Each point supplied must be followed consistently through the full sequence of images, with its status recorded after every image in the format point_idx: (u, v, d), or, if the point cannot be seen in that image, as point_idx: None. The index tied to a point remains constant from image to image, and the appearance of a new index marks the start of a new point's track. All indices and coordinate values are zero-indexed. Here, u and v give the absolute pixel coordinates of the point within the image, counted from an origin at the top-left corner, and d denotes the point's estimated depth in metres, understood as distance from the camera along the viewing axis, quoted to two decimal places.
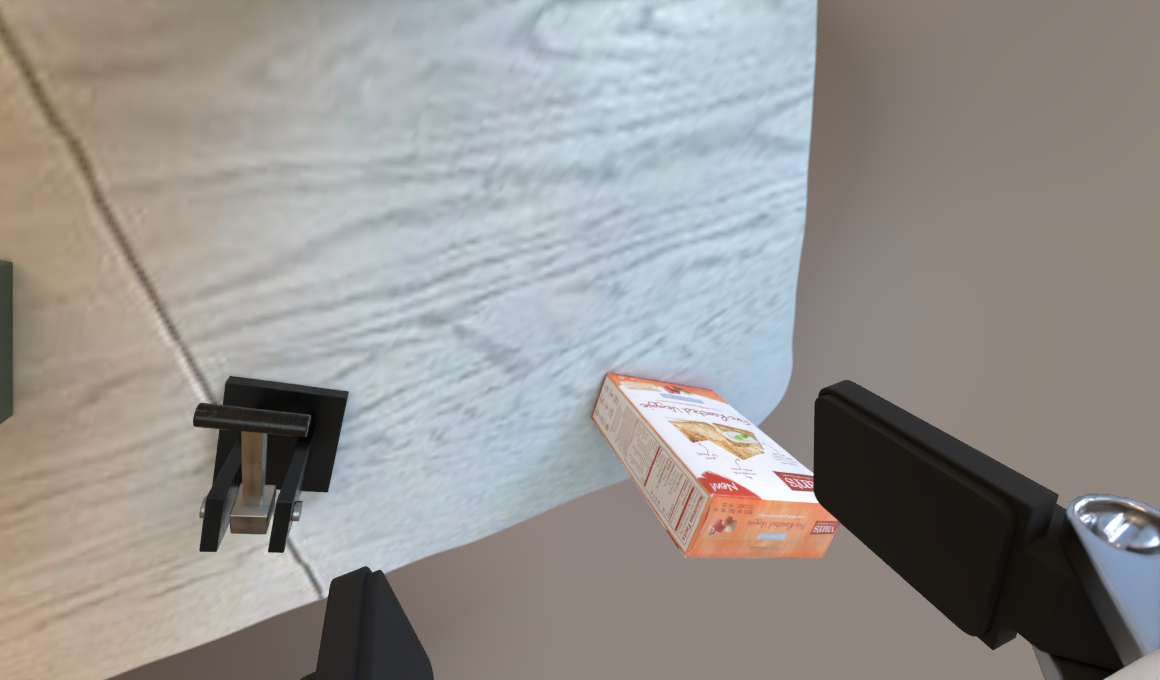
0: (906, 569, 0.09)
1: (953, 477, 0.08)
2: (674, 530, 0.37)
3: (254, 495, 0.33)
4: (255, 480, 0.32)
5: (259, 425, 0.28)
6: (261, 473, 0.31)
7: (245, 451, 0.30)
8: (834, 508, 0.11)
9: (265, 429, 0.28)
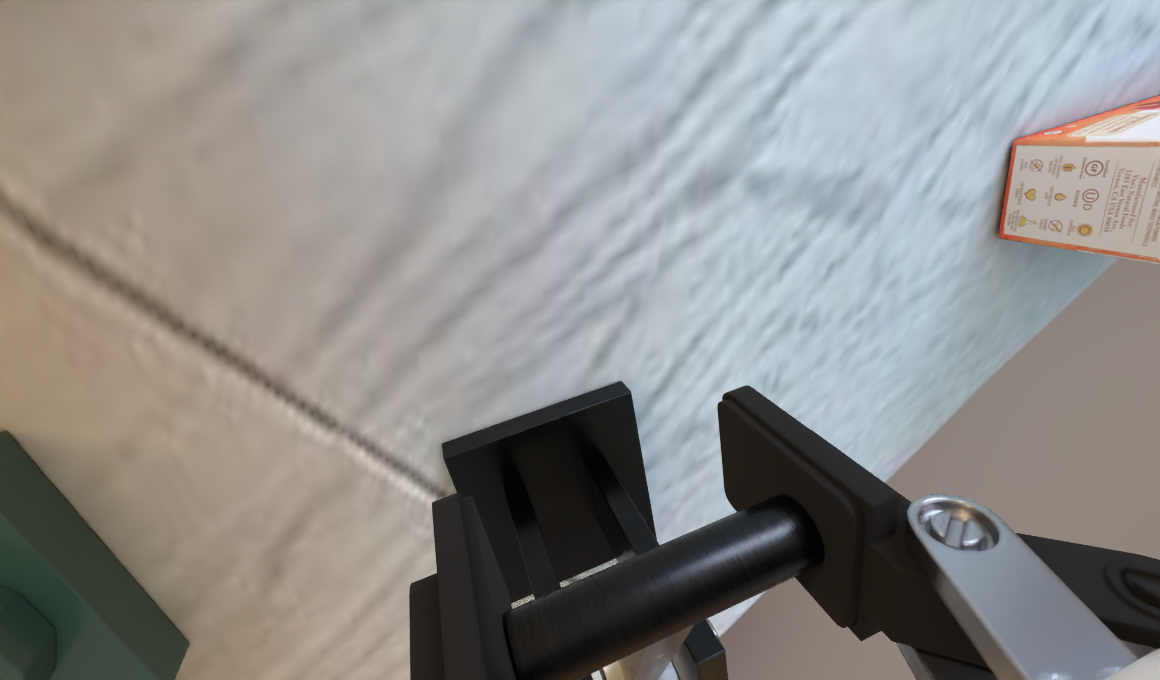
0: None
1: (816, 478, 0.08)
2: None
3: (653, 676, 0.14)
4: (660, 665, 0.13)
5: (701, 605, 0.08)
6: (674, 653, 0.12)
7: (651, 652, 0.10)
8: (740, 507, 0.11)
9: (720, 606, 0.08)
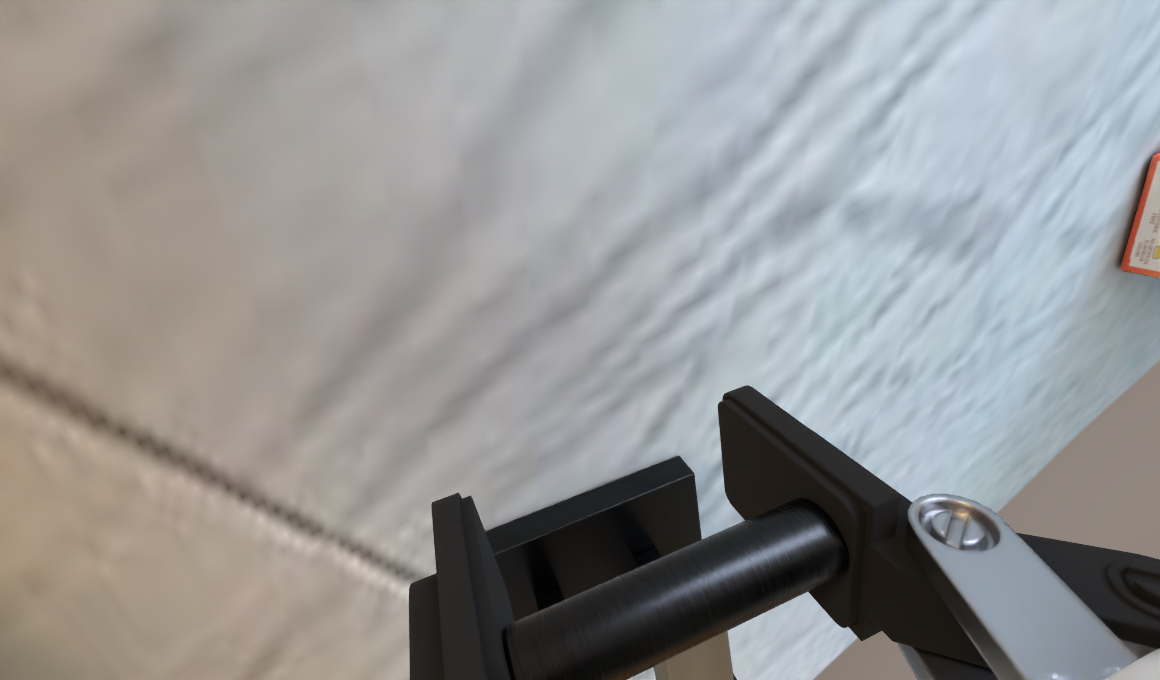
0: None
1: (817, 478, 0.08)
2: None
3: None
4: None
5: (712, 601, 0.07)
6: None
7: None
8: (740, 507, 0.11)
9: (736, 606, 0.07)
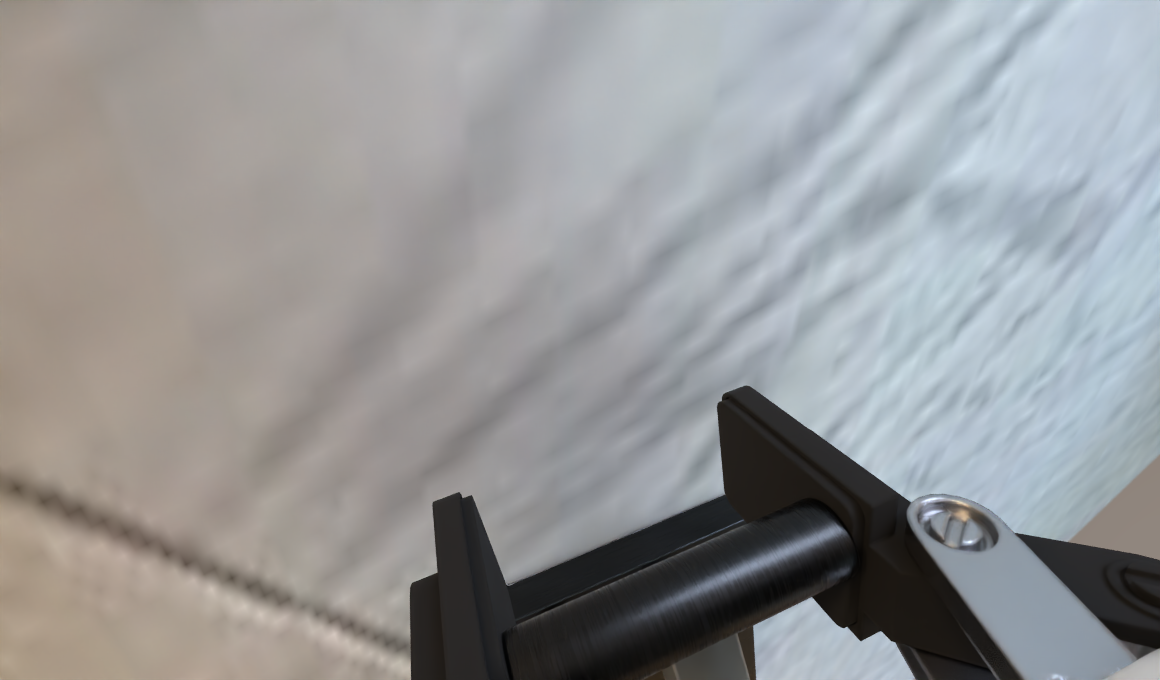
0: None
1: (816, 478, 0.08)
2: None
3: None
4: None
5: (714, 592, 0.07)
6: None
7: None
8: (740, 507, 0.11)
9: (740, 598, 0.07)
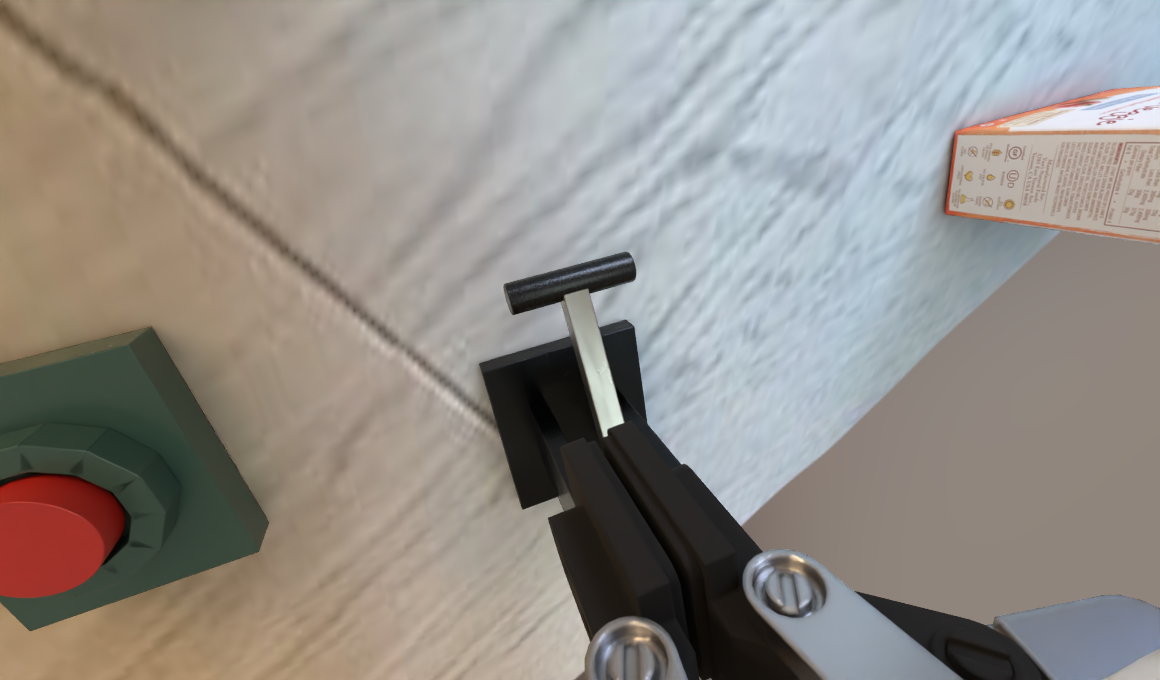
0: None
1: (666, 528, 0.08)
2: None
3: None
4: (615, 416, 0.21)
5: (579, 271, 0.20)
6: (616, 394, 0.21)
7: (582, 343, 0.21)
8: None
9: (588, 273, 0.20)
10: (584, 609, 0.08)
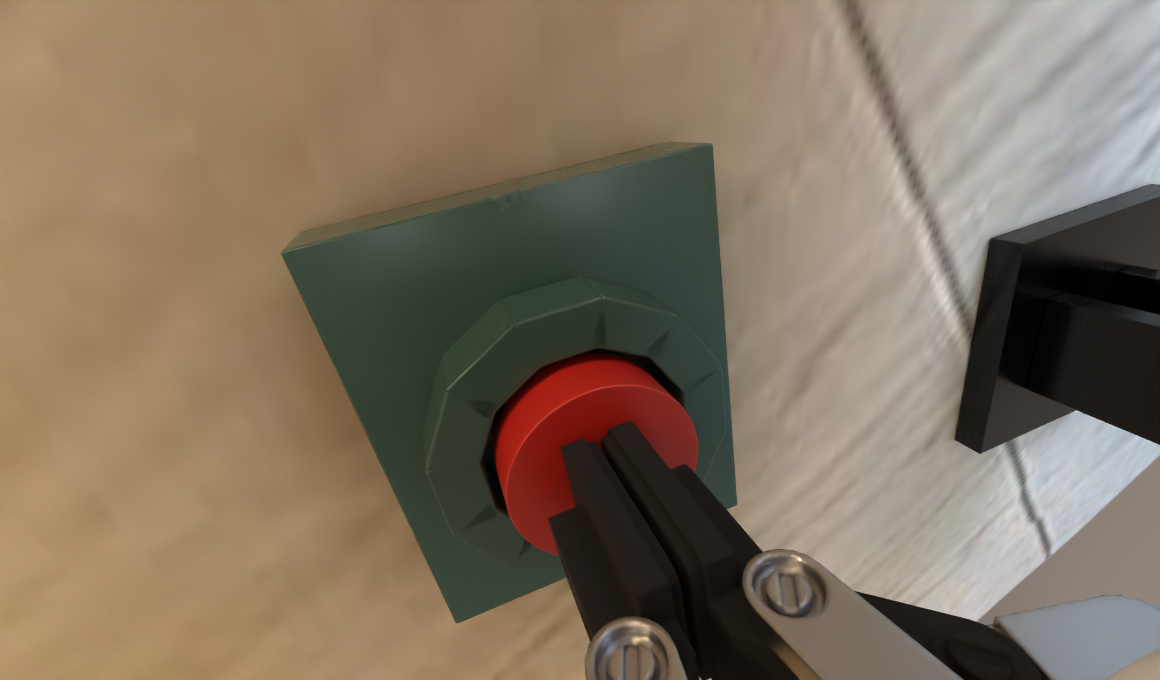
0: None
1: (666, 528, 0.08)
2: None
3: None
4: None
5: None
6: None
7: None
8: None
9: None
10: (584, 609, 0.08)
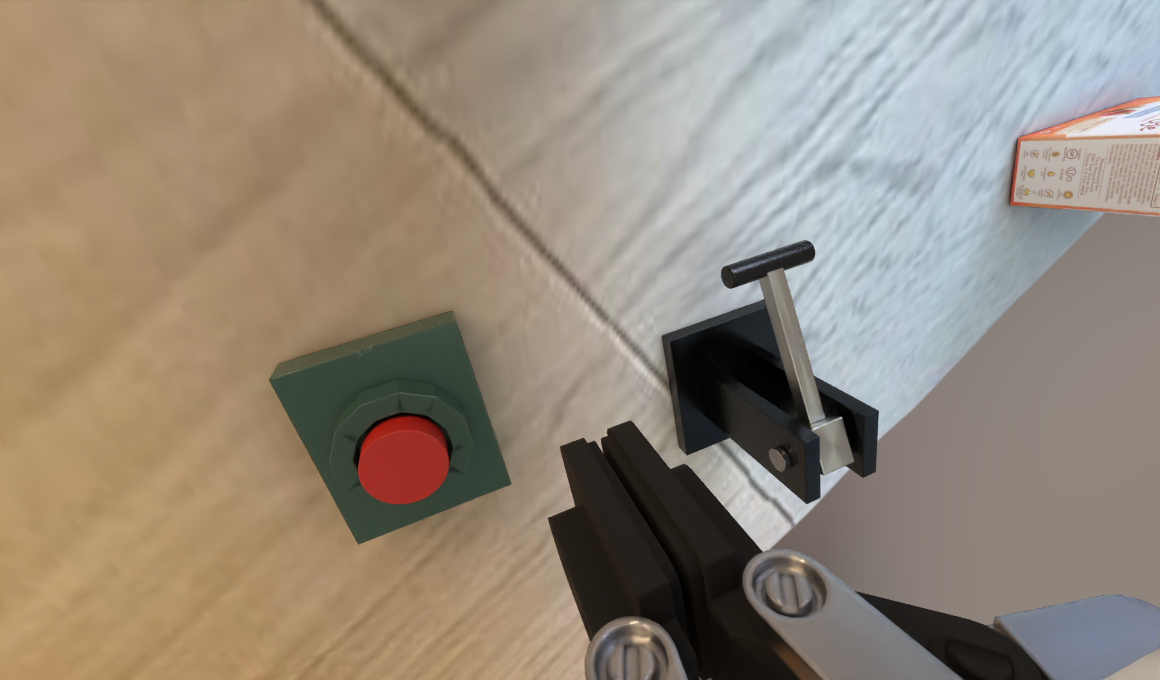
0: None
1: (666, 528, 0.08)
2: None
3: (813, 394, 0.29)
4: (804, 361, 0.29)
5: (776, 255, 0.28)
6: (804, 344, 0.29)
7: (780, 307, 0.28)
8: None
9: (783, 256, 0.28)
10: (584, 609, 0.08)
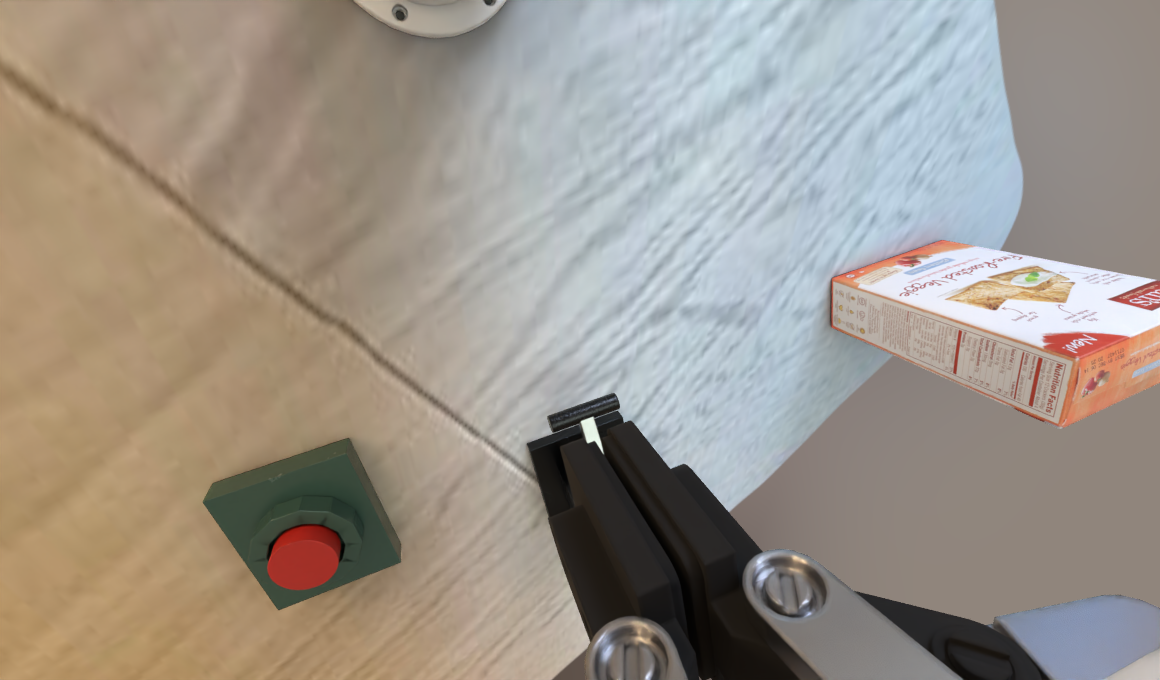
0: None
1: (666, 528, 0.08)
2: (1029, 406, 0.34)
3: None
4: None
5: (588, 408, 0.38)
6: None
7: None
8: None
9: (593, 409, 0.38)
10: (584, 609, 0.08)
